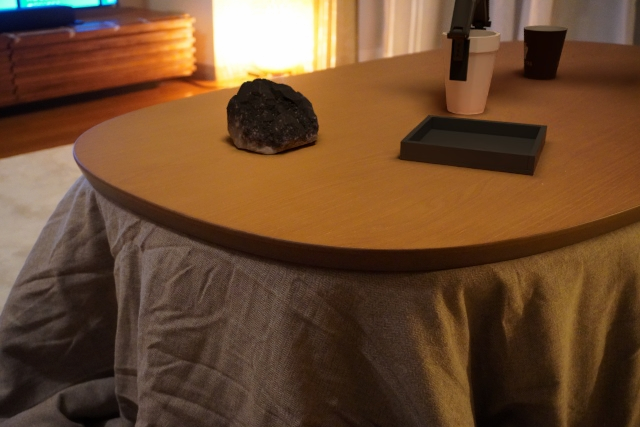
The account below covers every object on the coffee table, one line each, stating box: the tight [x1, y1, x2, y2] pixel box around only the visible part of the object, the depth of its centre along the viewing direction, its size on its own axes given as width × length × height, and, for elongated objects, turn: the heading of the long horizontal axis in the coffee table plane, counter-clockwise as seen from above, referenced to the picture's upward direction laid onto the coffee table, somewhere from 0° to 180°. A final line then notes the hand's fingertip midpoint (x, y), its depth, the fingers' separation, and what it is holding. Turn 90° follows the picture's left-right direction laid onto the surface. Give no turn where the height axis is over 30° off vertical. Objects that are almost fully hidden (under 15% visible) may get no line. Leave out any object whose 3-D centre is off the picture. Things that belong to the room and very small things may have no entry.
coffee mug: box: [523, 24, 568, 81], centre depth 131 cm, size 12×9×10 cm
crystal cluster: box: [225, 77, 320, 155], centre depth 93 cm, size 13×14×10 cm
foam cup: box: [441, 29, 502, 116], centre depth 106 cm, size 10×9×13 cm
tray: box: [399, 114, 548, 176], centre depth 88 cm, size 18×15×3 cm
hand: (466, 72), depth 106 cm, fingers open, 13 cm apart
